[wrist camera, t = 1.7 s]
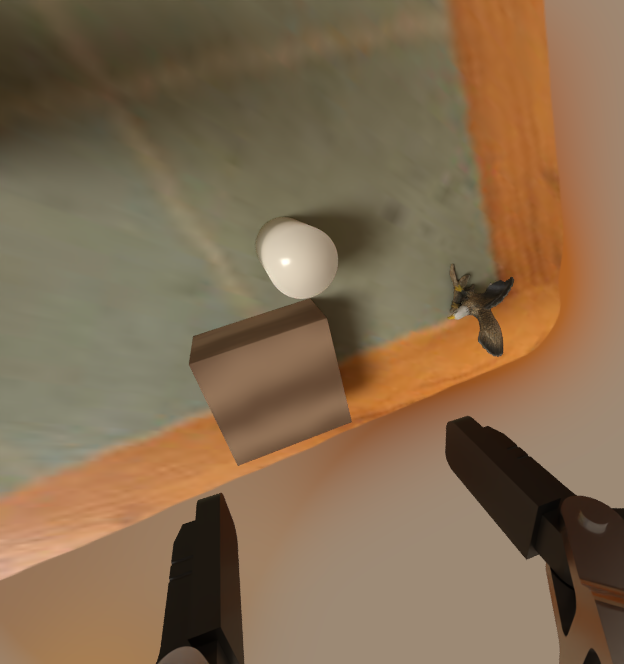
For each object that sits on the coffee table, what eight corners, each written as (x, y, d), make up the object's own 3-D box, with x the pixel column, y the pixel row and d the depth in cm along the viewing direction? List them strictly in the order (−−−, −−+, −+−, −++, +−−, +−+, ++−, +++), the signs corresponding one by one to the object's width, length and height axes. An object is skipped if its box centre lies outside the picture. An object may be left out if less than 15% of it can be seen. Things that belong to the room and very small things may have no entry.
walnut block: (193, 335, 32) (188, 364, 27) (309, 297, 34) (326, 318, 28) (234, 426, 38) (237, 465, 32) (333, 390, 39) (351, 422, 34)
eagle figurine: (419, 283, 36) (476, 310, 28) (474, 248, 36) (547, 266, 28) (439, 335, 40) (495, 373, 32) (489, 304, 40) (558, 333, 32)
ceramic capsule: (249, 223, 29) (259, 234, 22) (305, 211, 30) (332, 218, 23) (262, 279, 32) (276, 306, 24) (314, 267, 32) (342, 289, 25)
